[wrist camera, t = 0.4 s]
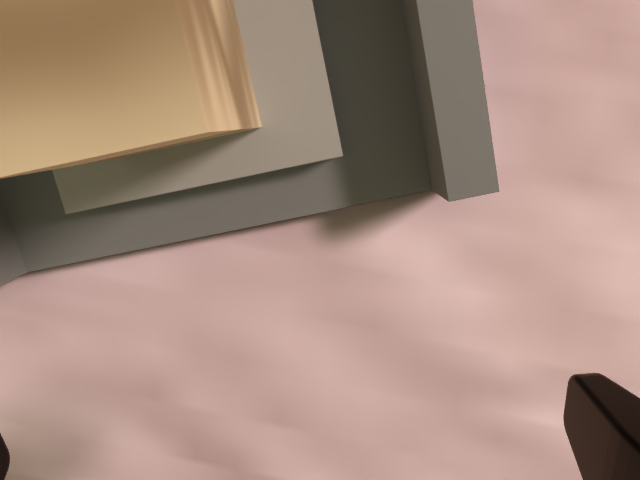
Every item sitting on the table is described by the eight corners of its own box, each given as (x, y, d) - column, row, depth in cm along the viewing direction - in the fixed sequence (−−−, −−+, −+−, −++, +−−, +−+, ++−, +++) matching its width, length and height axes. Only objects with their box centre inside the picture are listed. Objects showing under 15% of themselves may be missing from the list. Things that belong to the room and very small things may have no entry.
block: (261, 127, 18) (207, 132, 11) (121, 157, 19) (-32, 184, 11) (226, -30, 17) (137, -152, 10) (77, 5, 18) (-125, -85, 10)
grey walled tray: (468, 178, 21) (548, 212, 13) (4, 272, 22) (-173, 354, 15) (406, -232, 18) (460, -497, 10) (-123, -95, 19) (-428, -239, 12)
